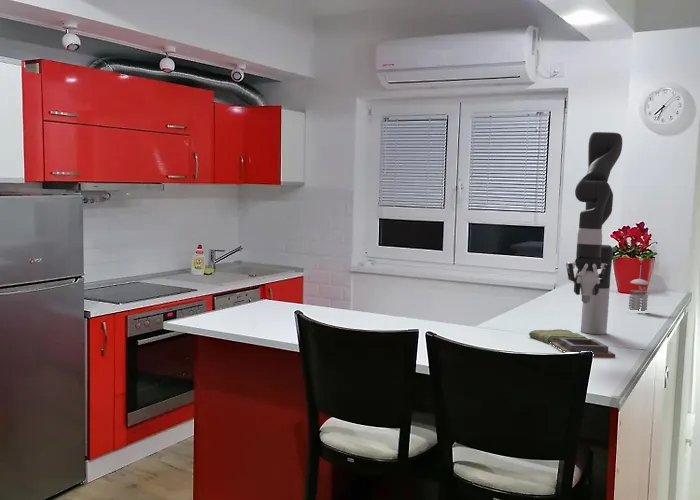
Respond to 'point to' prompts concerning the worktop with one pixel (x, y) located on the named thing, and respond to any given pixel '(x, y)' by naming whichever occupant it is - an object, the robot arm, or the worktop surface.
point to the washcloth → (554, 335)
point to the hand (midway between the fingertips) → (585, 294)
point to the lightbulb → (587, 285)
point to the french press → (638, 295)
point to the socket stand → (583, 346)
